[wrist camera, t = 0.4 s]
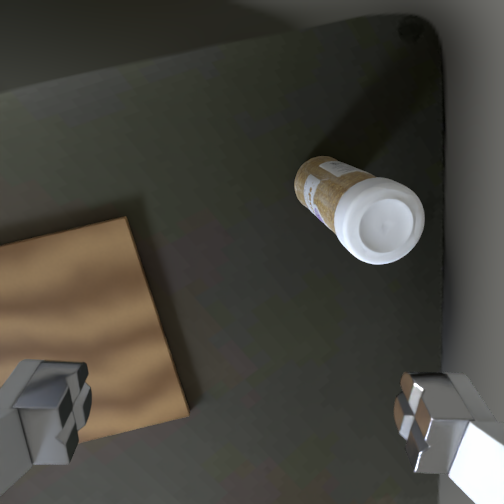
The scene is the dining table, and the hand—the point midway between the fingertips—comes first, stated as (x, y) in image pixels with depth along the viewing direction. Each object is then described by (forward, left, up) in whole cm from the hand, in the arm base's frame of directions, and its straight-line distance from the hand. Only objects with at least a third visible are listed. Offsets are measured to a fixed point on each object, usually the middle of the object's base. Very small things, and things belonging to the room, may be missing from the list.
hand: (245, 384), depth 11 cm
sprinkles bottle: (+1, +8, -25) cm, 26 cm away
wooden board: (+10, -16, -25) cm, 31 cm away
